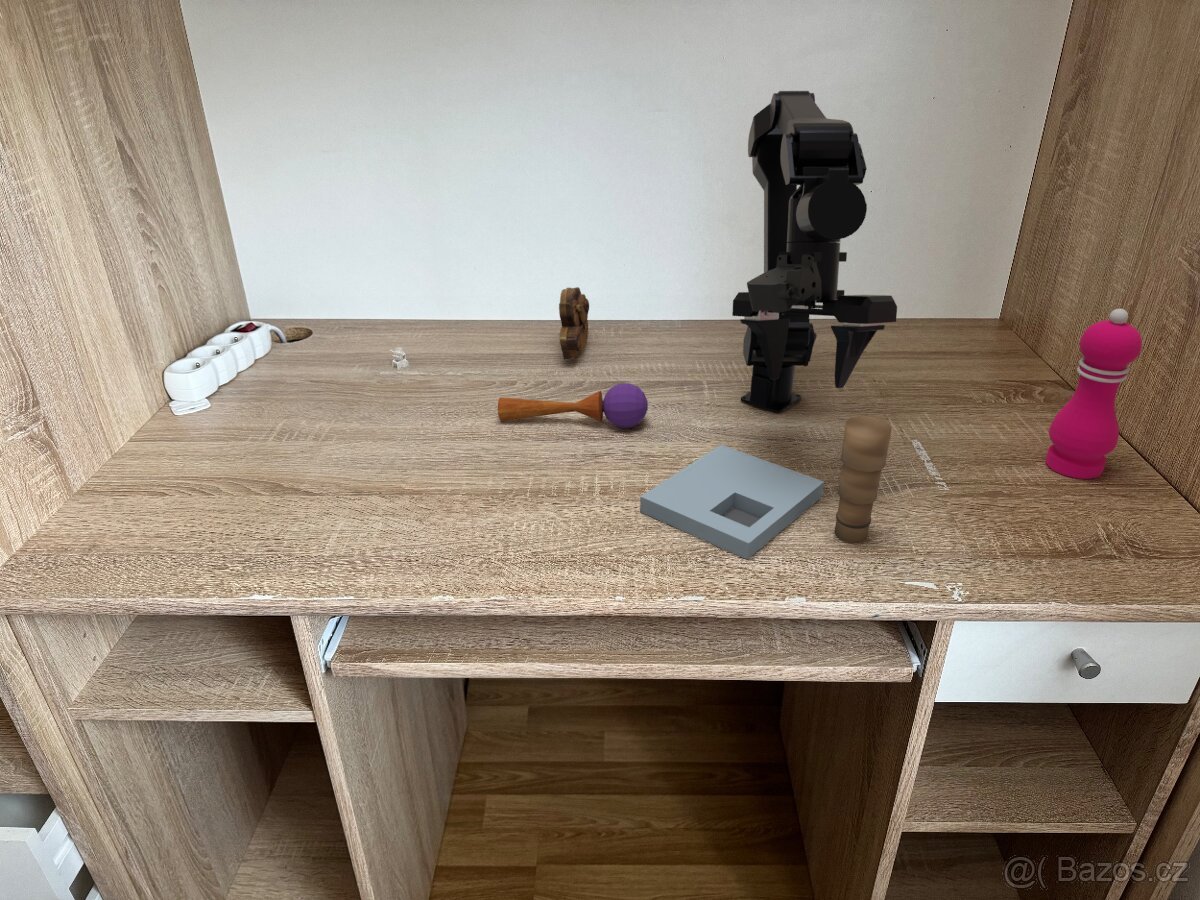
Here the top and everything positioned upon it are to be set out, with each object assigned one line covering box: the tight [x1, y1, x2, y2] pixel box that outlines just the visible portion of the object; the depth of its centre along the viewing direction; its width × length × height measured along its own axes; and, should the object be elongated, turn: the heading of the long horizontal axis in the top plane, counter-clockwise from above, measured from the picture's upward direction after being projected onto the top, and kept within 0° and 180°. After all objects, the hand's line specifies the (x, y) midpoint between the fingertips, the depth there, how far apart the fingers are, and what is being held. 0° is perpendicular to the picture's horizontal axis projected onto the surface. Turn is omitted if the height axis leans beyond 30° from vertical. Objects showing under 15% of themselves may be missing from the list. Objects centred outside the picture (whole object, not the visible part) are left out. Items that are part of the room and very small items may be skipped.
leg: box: [834, 415, 893, 545], centre depth 85 cm, size 4×4×13 cm
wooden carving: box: [558, 287, 590, 360], centre depth 134 cm, size 16×5×10 cm, turn 179°
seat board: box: [639, 444, 825, 560], centre depth 93 cm, size 16×14×2 cm
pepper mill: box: [1045, 308, 1143, 480], centre depth 96 cm, size 7×7×20 cm
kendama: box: [497, 382, 649, 429], centre depth 112 cm, size 6×6×20 cm
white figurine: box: [389, 347, 409, 370], centre depth 131 cm, size 3×3×3 cm
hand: (805, 383), depth 95 cm, fingers open, 9 cm apart
